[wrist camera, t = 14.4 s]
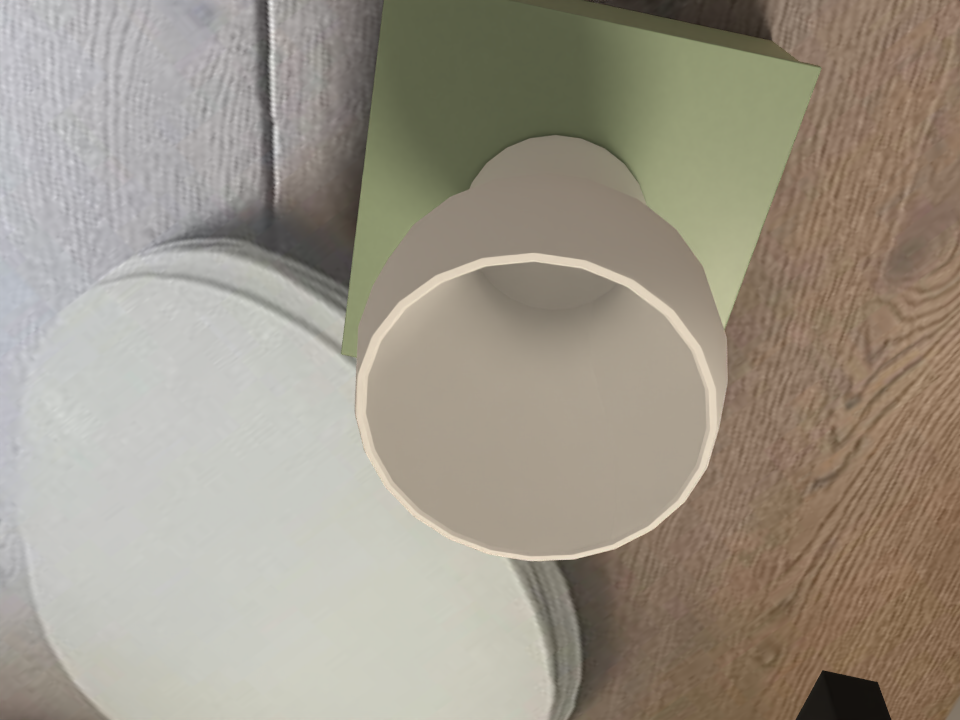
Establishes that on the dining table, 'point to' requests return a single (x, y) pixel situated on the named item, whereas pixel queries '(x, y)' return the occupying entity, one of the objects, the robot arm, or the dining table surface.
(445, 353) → the cup
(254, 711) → the dining table surface
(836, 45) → the dining table surface
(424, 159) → the green flat-topped block
